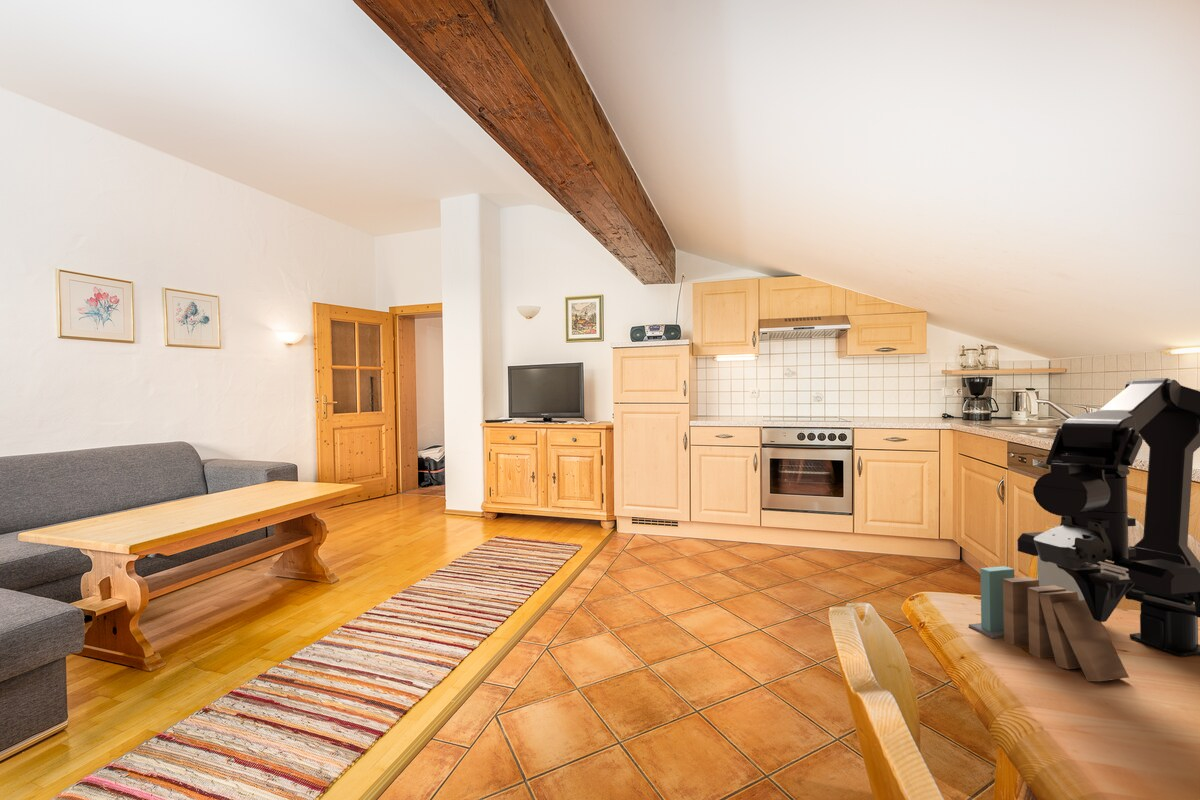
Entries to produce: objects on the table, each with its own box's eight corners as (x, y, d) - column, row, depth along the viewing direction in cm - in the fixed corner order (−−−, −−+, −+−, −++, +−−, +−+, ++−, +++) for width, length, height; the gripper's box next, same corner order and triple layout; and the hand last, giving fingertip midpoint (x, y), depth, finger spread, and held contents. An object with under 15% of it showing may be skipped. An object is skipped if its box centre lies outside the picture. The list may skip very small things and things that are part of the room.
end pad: (1003, 623, 87) (1003, 620, 87) (1028, 634, 83) (1028, 632, 83) (968, 626, 86) (968, 624, 86) (992, 638, 82) (992, 635, 82)
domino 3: (1056, 649, 78) (1054, 585, 78) (1067, 654, 76) (1065, 588, 76) (1029, 653, 77) (1027, 587, 77) (1039, 658, 75) (1038, 591, 76)
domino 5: (1117, 677, 70) (1079, 600, 75) (1129, 677, 69) (1090, 599, 73) (1087, 681, 69) (1051, 603, 74) (1099, 681, 68) (1061, 602, 72)
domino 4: (1085, 662, 74) (1065, 590, 76) (1097, 665, 72) (1076, 592, 75) (1056, 666, 73) (1038, 593, 76) (1068, 669, 72) (1049, 594, 74)
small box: (1085, 634, 83) (1084, 555, 83) (1036, 621, 88) (1035, 546, 88) (1100, 622, 87) (1098, 547, 87) (1052, 610, 93) (1051, 539, 93)
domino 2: (1029, 638, 82) (1028, 576, 82) (1040, 642, 80) (1038, 580, 80) (1003, 640, 81) (1002, 578, 81) (1013, 645, 79) (1012, 582, 79)
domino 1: (1005, 624, 86) (1004, 566, 86) (1015, 628, 84) (1014, 569, 84) (981, 627, 85) (980, 568, 85) (990, 631, 83) (989, 571, 83)
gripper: (986, 498, 78) (988, 599, 78) (1133, 527, 59) (1135, 660, 59) (1046, 495, 80) (1047, 594, 80) (1206, 522, 61) (1208, 651, 61)
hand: (1100, 620), depth 70 cm, fingers closed
